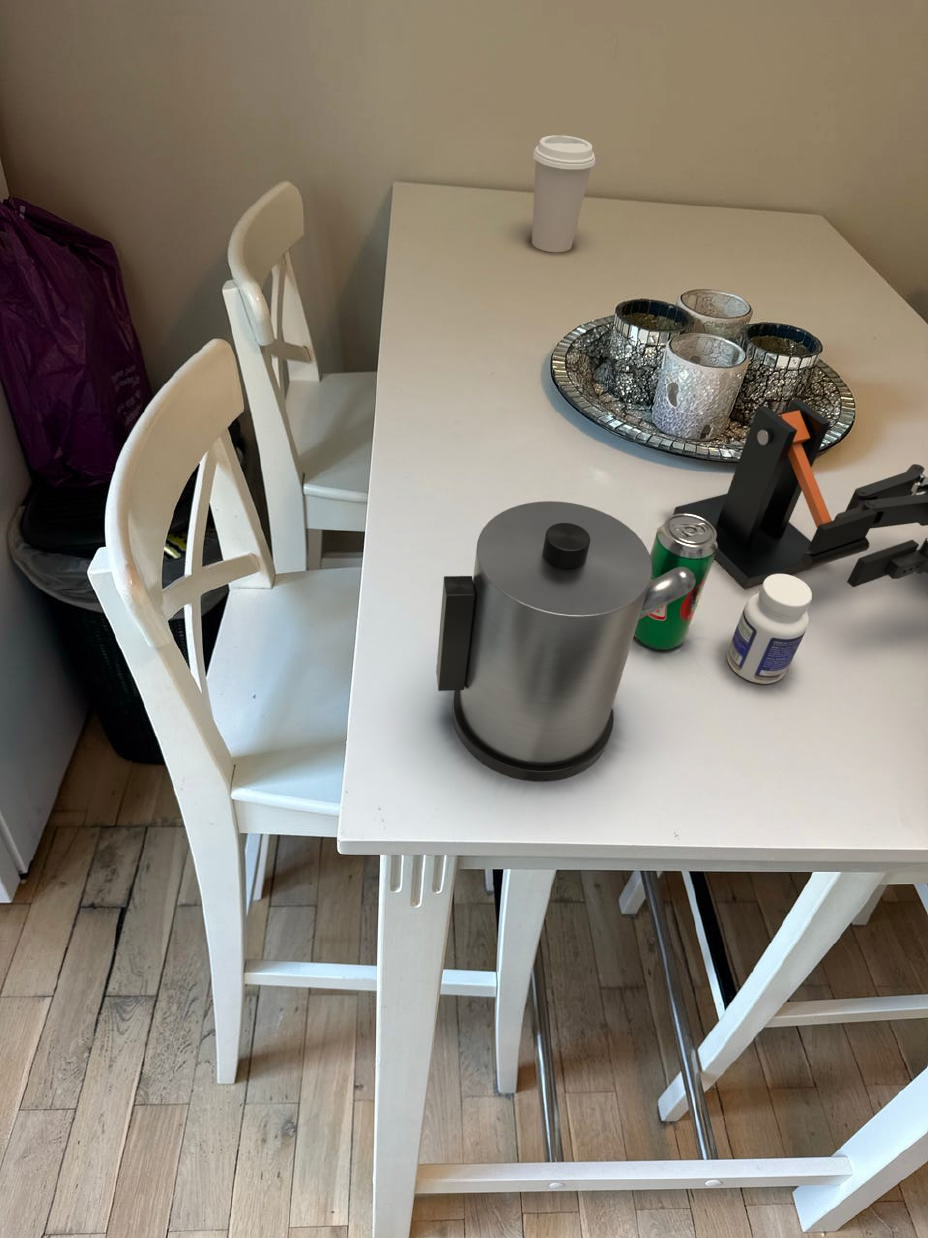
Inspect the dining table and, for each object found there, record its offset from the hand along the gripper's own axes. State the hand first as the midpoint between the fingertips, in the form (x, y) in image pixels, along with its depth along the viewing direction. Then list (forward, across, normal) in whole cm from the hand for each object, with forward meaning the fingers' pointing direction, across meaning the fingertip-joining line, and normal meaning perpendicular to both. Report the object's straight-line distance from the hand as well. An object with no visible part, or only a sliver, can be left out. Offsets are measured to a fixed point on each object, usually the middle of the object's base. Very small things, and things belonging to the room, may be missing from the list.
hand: (836, 555), depth 76 cm
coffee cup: (-25, +85, -8) cm, 89 cm away
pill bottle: (+7, -2, -9) cm, 12 cm away
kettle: (+28, +1, -9) cm, 30 cm away
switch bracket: (-4, +12, -9) cm, 15 cm away
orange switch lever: (-4, +8, 0) cm, 9 cm away
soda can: (+13, +5, -9) cm, 17 cm away
